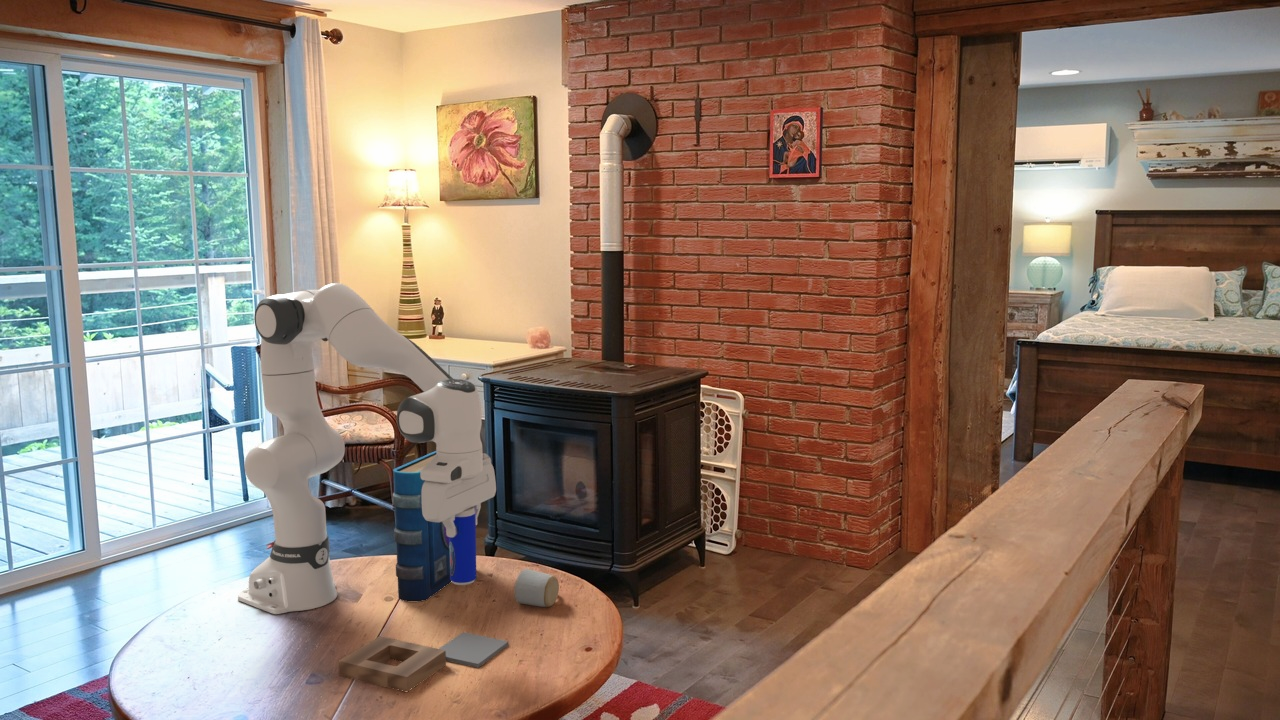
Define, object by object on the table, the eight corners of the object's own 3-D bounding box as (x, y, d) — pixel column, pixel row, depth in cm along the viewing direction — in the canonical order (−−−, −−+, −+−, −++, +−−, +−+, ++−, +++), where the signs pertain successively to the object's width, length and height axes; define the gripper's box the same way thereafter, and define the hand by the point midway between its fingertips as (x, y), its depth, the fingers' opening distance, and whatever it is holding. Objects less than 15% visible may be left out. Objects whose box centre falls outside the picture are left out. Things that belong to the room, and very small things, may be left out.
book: (425, 605, 216) (421, 475, 211) (391, 600, 219) (386, 471, 214) (476, 569, 238) (474, 450, 234) (445, 565, 241) (442, 447, 237)
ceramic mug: (546, 613, 211) (546, 579, 210) (513, 608, 214) (513, 574, 213) (566, 596, 221) (566, 564, 220) (534, 591, 224) (534, 560, 223)
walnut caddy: (339, 675, 182) (338, 660, 182) (380, 650, 193) (379, 636, 193) (407, 692, 176) (406, 677, 176) (446, 664, 187) (445, 650, 186)
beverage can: (450, 576, 192) (449, 504, 190) (476, 575, 193) (475, 503, 191) (449, 586, 187) (447, 512, 185) (476, 585, 188) (474, 511, 185)
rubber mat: (431, 657, 190) (431, 653, 190) (463, 635, 200) (463, 631, 200) (478, 667, 186) (478, 663, 185) (508, 644, 195) (508, 641, 195)
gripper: (476, 449, 197) (478, 514, 199) (414, 473, 179) (417, 544, 181) (502, 452, 194) (504, 518, 196) (442, 477, 176) (445, 549, 178)
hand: (462, 531), depth 188 cm, fingers closed on beverage can, 5 cm apart
